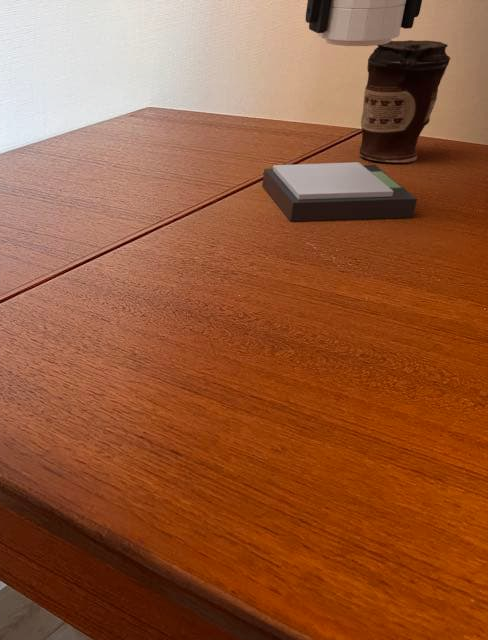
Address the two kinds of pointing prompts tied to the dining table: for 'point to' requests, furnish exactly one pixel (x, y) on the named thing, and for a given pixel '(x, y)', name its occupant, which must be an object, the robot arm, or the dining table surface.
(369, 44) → the white handleless cup
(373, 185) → the scale
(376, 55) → the coffee cup
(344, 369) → the dining table surface
